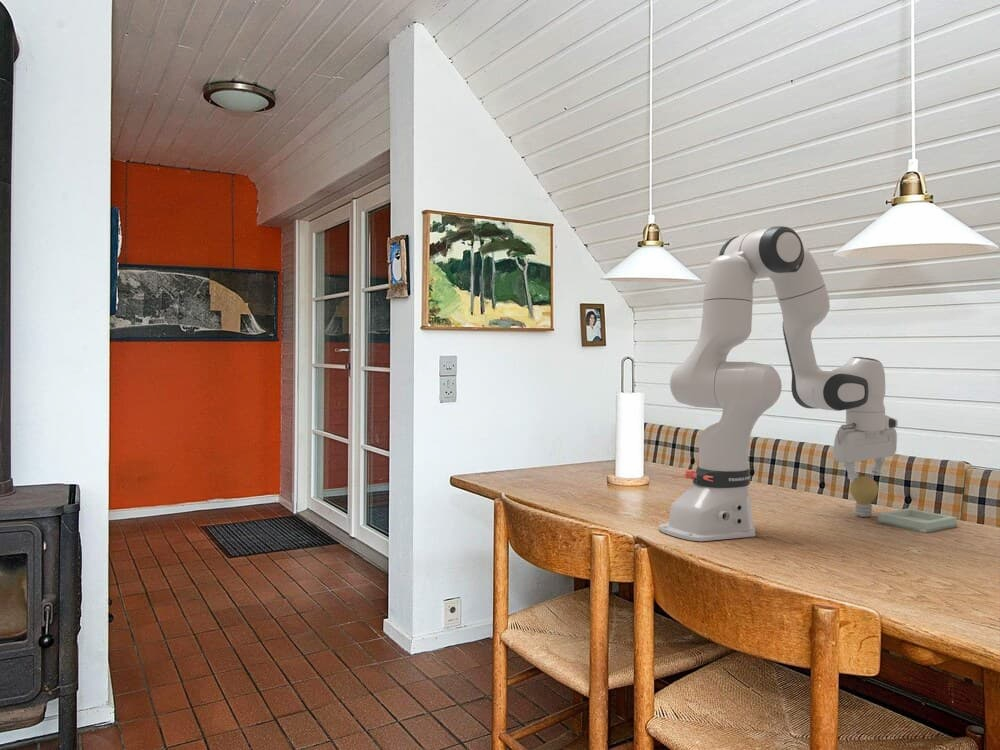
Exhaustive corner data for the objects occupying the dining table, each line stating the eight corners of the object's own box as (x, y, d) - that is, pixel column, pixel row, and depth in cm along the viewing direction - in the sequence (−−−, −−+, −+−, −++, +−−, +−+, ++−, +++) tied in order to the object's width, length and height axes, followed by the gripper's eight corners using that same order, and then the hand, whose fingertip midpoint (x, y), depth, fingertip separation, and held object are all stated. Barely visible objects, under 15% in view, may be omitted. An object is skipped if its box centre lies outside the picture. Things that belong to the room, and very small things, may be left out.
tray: (926, 532, 176) (926, 523, 176) (877, 522, 187) (877, 513, 187) (956, 526, 182) (957, 517, 182) (908, 516, 192) (908, 508, 192)
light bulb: (848, 517, 192) (849, 477, 192) (850, 512, 198) (850, 473, 197) (877, 520, 189) (877, 479, 189) (878, 515, 195) (878, 475, 194)
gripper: (849, 426, 185) (849, 484, 186) (901, 420, 195) (901, 474, 196) (826, 424, 190) (826, 479, 191) (878, 418, 200) (878, 470, 201)
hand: (864, 477), depth 193 cm, fingers open, 8 cm apart
